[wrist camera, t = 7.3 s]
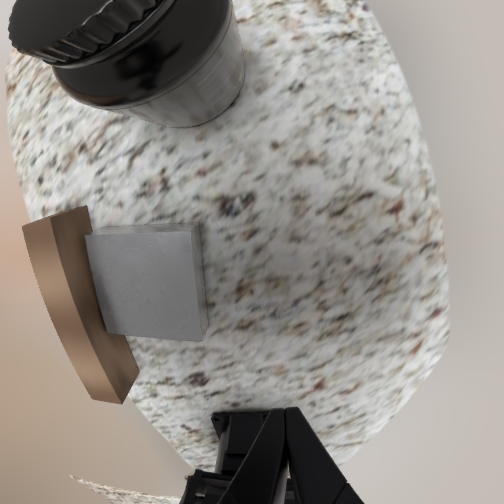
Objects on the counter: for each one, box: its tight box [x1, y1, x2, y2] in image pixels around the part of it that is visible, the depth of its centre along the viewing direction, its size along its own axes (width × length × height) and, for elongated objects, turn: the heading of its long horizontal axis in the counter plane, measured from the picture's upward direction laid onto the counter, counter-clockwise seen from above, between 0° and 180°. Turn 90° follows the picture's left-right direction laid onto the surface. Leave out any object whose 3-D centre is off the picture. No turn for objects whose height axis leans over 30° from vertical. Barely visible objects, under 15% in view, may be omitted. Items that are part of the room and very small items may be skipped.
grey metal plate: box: [85, 223, 208, 341], centre depth 17 cm, size 7×7×2 cm
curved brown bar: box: [22, 205, 139, 404], centre depth 17 cm, size 14×3×4 cm, turn 8°
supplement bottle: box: [8, 0, 245, 127], centre depth 8 cm, size 7×7×12 cm
